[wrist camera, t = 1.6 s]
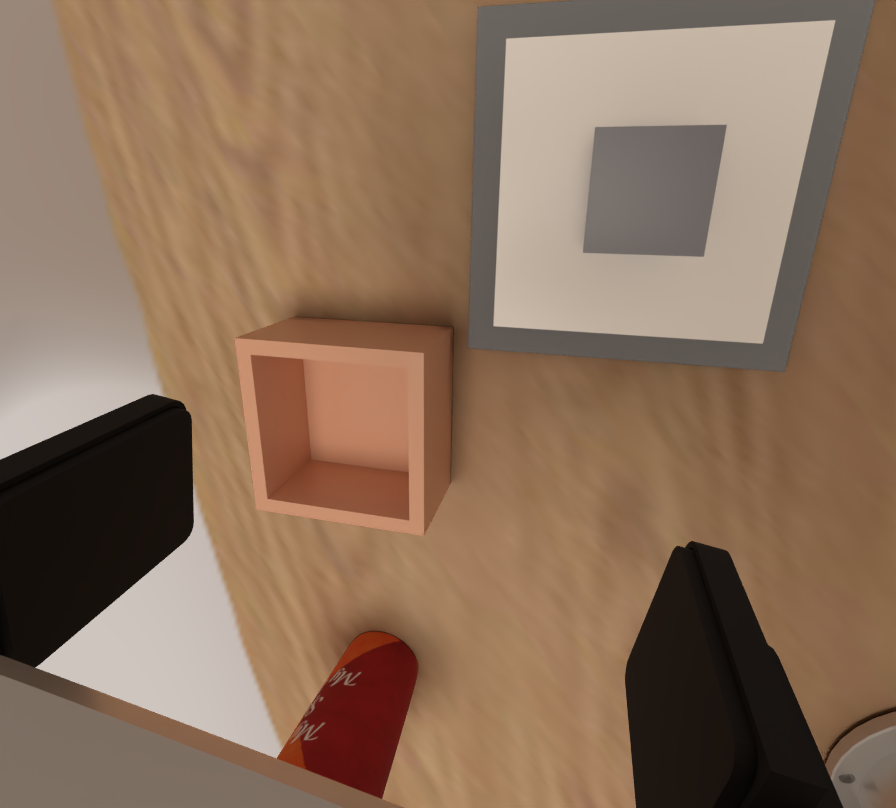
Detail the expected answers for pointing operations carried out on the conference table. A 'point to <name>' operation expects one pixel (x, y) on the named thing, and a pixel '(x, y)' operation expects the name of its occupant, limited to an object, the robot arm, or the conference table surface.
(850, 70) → the mat
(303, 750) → the paper cup
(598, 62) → the cover
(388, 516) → the open box
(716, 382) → the conference table surface
